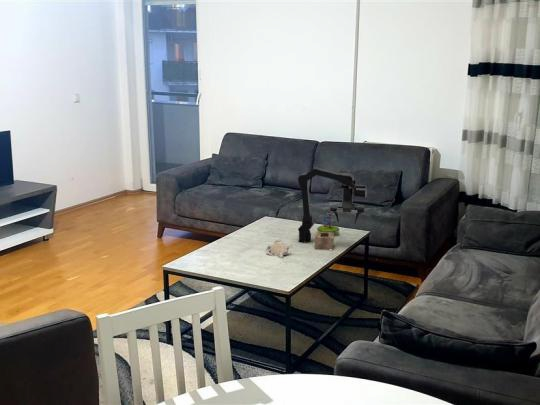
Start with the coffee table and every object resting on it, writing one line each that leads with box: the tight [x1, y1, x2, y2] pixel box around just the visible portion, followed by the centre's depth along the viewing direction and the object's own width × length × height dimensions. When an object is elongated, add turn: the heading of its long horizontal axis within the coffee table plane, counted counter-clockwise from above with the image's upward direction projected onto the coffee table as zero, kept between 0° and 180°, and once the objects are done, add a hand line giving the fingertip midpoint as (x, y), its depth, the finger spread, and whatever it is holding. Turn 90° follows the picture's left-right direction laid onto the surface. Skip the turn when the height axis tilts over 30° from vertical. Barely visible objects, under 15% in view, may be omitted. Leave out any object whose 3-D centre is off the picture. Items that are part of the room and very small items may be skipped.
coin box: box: [314, 231, 335, 251], centre depth 344 cm, size 10×10×7 cm
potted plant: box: [316, 211, 340, 234], centre depth 367 cm, size 14×13×15 cm
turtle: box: [266, 239, 294, 259], centre depth 332 cm, size 16×10×10 cm, turn 72°
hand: (346, 223), depth 345 cm, fingers open, 9 cm apart
